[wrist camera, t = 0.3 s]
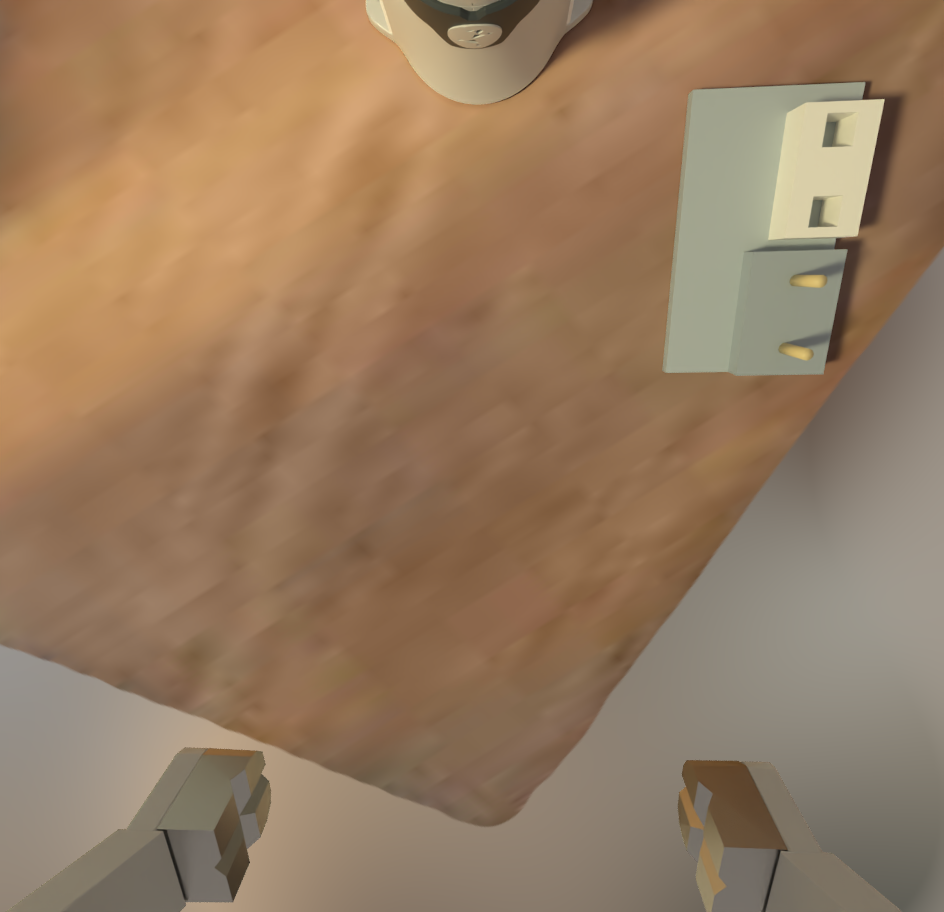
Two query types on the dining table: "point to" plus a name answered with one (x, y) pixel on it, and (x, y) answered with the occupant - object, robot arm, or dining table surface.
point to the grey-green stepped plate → (747, 242)
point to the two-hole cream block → (825, 169)
